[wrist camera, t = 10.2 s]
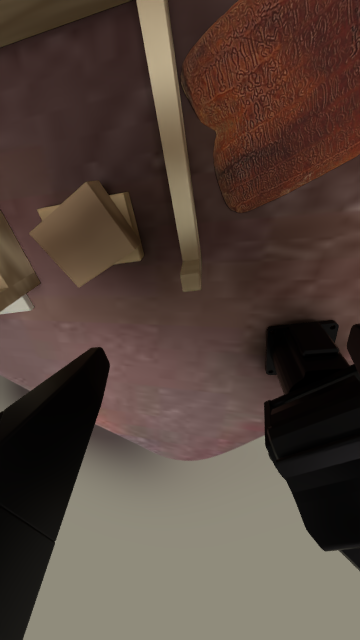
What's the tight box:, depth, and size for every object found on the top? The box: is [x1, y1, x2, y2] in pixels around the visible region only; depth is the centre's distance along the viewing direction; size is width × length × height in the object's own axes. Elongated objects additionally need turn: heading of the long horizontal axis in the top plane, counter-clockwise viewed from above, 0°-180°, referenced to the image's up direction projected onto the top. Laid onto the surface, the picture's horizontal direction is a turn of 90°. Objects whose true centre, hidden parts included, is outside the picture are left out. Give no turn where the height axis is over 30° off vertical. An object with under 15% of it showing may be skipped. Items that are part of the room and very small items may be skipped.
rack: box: [0, 0, 202, 312], centre depth 15 cm, size 16×17×6 cm
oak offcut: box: [37, 192, 144, 264], centre depth 19 cm, size 5×7×2 cm
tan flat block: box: [29, 180, 141, 288], centre depth 17 cm, size 5×6×2 cm
